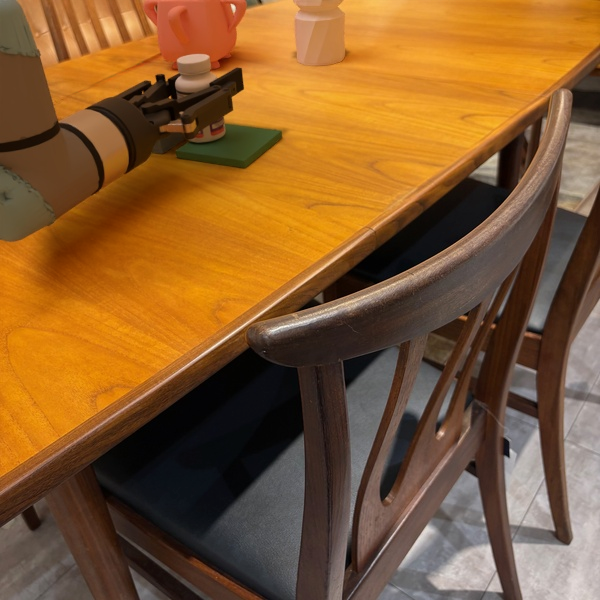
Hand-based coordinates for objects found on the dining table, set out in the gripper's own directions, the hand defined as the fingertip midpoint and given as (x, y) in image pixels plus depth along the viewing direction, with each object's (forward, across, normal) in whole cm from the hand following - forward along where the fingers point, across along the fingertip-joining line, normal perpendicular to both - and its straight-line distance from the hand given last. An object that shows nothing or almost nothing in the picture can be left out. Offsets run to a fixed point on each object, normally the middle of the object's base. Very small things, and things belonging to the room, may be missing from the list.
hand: (219, 76), depth 80 cm
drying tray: (-3, -10, -7) cm, 13 cm away
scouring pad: (-5, +4, -7) cm, 10 cm away
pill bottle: (-5, 0, -6) cm, 8 cm away
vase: (+35, -1, -7) cm, 36 cm away
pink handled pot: (+29, -22, -7) cm, 37 cm away
